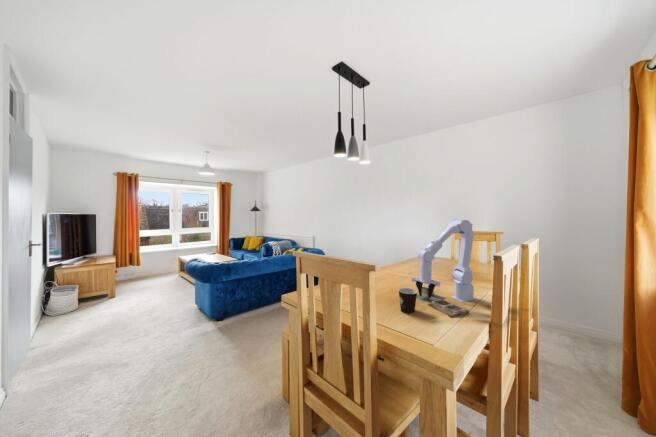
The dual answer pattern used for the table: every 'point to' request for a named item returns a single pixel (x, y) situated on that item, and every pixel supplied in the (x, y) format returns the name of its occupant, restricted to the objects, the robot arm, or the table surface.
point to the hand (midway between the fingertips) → (425, 296)
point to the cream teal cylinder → (425, 293)
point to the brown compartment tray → (448, 308)
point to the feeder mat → (430, 298)
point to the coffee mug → (407, 300)
